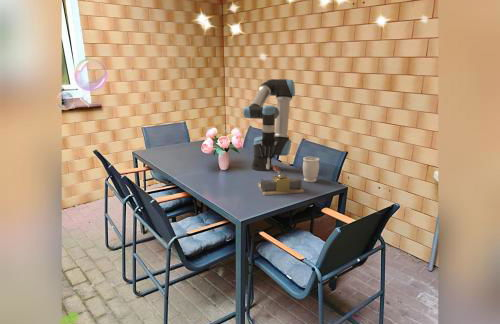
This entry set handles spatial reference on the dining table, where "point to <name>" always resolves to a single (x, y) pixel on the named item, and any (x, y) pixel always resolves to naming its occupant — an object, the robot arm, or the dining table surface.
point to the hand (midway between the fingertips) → (267, 168)
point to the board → (280, 191)
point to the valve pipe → (281, 184)
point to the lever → (278, 171)
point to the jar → (310, 168)
